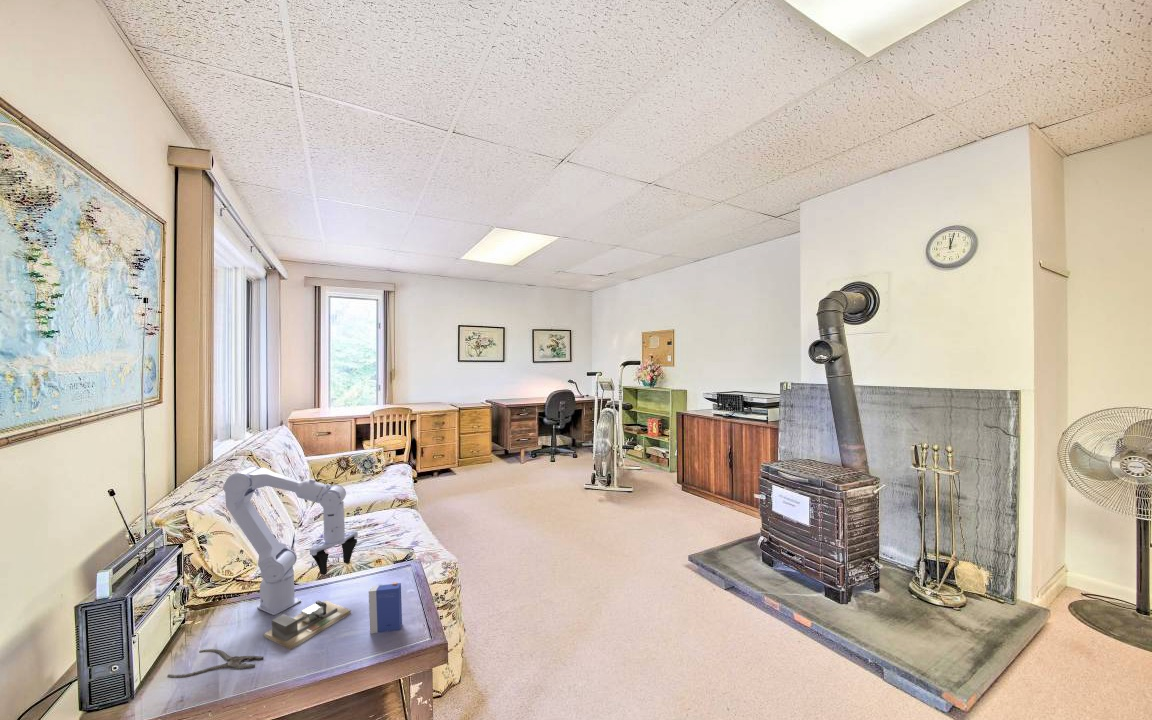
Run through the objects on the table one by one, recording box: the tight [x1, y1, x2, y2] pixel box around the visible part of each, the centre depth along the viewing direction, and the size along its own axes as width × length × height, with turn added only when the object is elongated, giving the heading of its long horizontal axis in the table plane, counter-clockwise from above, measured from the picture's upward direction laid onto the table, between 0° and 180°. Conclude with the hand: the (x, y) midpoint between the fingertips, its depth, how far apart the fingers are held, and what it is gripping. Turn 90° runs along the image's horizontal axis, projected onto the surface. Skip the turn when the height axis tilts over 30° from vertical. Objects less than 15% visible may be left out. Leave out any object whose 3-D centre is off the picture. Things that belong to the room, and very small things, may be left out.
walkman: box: [368, 582, 403, 634], centre depth 117 cm, size 8×3×12 cm, turn 99°
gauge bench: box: [264, 600, 352, 650], centre depth 120 cm, size 17×12×5 cm
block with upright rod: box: [301, 600, 326, 623], centre depth 120 cm, size 5×7×3 cm
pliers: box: [167, 648, 265, 679], centre depth 107 cm, size 10×1×20 cm
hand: (335, 568), depth 133 cm, fingers open, 7 cm apart
